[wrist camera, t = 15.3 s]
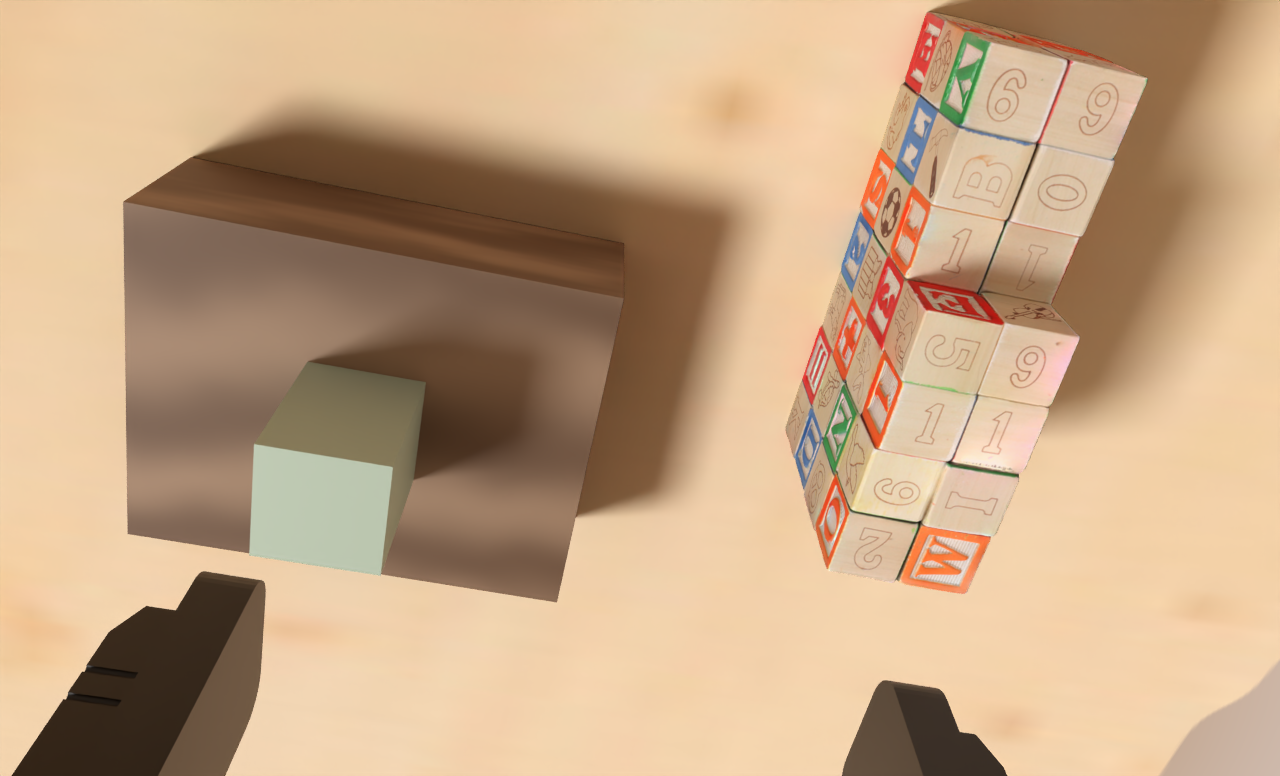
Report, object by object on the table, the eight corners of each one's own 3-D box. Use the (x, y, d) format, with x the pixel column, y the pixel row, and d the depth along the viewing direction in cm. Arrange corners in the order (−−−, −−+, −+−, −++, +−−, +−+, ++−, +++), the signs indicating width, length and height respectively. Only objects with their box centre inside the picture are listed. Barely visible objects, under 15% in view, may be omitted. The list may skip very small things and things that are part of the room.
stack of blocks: (922, 6, 44) (1022, 50, 33) (1057, 39, 45) (1200, 93, 34) (783, 431, 53) (825, 576, 42) (896, 452, 54) (967, 601, 43)
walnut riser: (191, 157, 46) (123, 201, 40) (623, 243, 48) (623, 298, 42) (186, 456, 53) (127, 533, 47) (564, 520, 55) (556, 602, 49)
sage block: (307, 361, 43) (253, 444, 37) (425, 382, 44) (392, 467, 37) (300, 461, 45) (249, 555, 39) (413, 479, 46) (380, 575, 40)
